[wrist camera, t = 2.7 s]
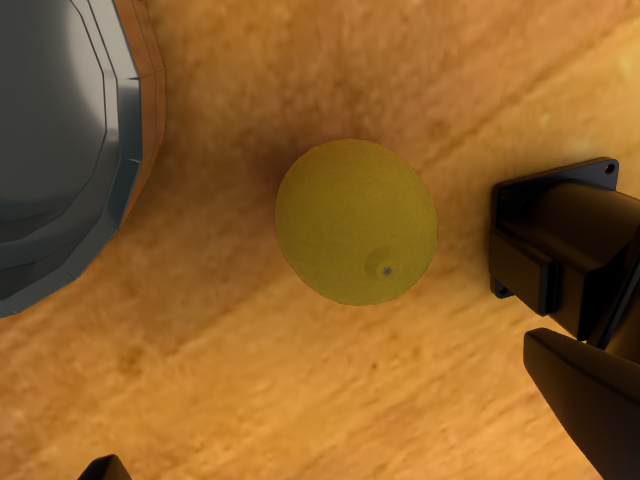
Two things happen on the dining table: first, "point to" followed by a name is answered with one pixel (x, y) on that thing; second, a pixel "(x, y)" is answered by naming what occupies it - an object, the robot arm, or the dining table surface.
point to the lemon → (355, 222)
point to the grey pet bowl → (71, 135)
